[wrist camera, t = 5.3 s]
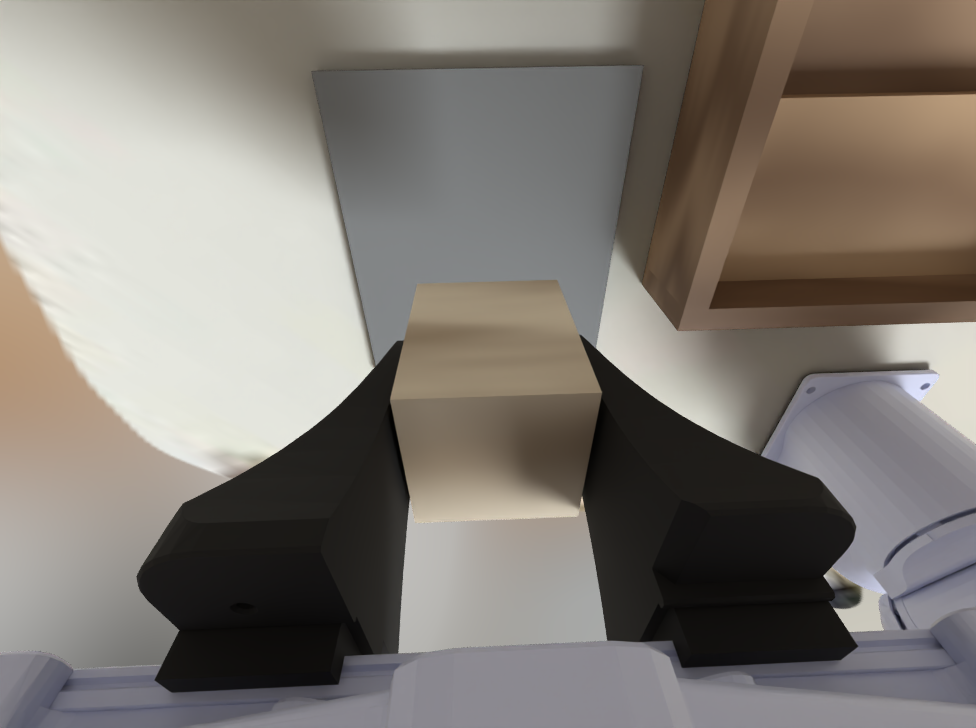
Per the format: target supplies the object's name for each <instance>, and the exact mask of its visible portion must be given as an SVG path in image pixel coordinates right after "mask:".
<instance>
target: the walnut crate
mask: <svg viewBox="0 0 976 728" xmlns="http://www.w3.org/2000/svg"><path fill="white" fill-rule="evenodd" d="M642 285H643V287H644V288H645V289H646V290H647V292H648V293H649V294H650V296H651V297H652V298H653V300H654V301H655V302H656V303H657V305H658V306H659V307H660V309H661V310H662V311H663V312H664V314H665V315H666V316H667V318H668V319H669V320H670V322H671V323H672V324H673V325H674V327H675V328H676V329H677V331H696V330H728V329H760V328H792V327H824V326H856V325H888V324H920V323H953V322H976V0H705V4H704V8H703V13H702V17H701V22H700V26H699V31H698V35H697V40H696V44H695V49H694V53H693V57H692V62H691V66H690V71H689V75H688V80H687V84H686V89H685V93H684V98H683V102H682V107H681V111H680V115H679V120H678V124H677V129H676V133H675V138H674V142H673V147H672V151H671V156H670V160H669V165H668V169H667V173H666V178H665V182H664V187H663V191H662V196H661V200H660V205H659V209H658V214H657V218H656V223H655V227H654V231H653V236H652V240H651V245H650V249H649V254H648V258H647V263H646V267H645V272H644V276H643V281H642Z"/></svg>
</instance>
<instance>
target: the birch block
mask: <svg viewBox="0 0 976 728" xmlns="http://www.w3.org/2000/svg"><path fill="white" fill-rule="evenodd" d="M601 395H602V391H601V389H600V386H599V384H598V381H597V379H596V376H595V374H594V371H593V369H592V366H591V364H590V361H589V359H588V356H587V354H586V351H585V349H584V346H583V344H582V341H581V339H580V336H579V334H578V331H577V329H576V326H575V324H574V321H573V318H572V316H571V313H570V311H569V308H568V306H567V303H566V301H565V298H564V296H563V293H562V291H561V288H560V286H559V283H558V281H557V280H532V281H497V282H461V283H426V284H417V287H416V292H415V296H414V300H413V304H412V309H411V313H410V317H409V321H408V326H407V330H406V334H405V338H404V343H403V347H402V351H401V355H400V360H399V364H398V368H397V372H396V377H395V381H394V385H393V389H392V394H391V398H390V402H391V407H392V412H393V417H394V422H395V427H396V431H397V436H398V441H399V446H400V451H401V456H402V461H403V466H404V470H405V475H406V480H407V485H408V490H409V495H410V500H411V505H412V509H413V514H414V519H415V523H425V522H451V521H475V520H500V519H501V520H502V519H524V518H525V519H527V518H551V517H575V516H578V513H579V508H580V502H581V497H582V492H583V487H584V482H585V477H586V472H587V467H588V462H589V457H590V451H591V446H592V441H593V436H594V431H595V426H596V421H597V416H598V411H599V406H600V401H601Z"/></svg>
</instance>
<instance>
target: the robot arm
mask: <svg viewBox="0 0 976 728" xmlns="http://www.w3.org/2000/svg"><path fill="white" fill-rule="evenodd" d="M579 336H580V339H581V341H582V344H583V346H584V349H585V351H586V354H587V356H588V359H589V361H590V364H591V366H592V369H593V371H594V374H595V376H596V379H597V381H598V384H599V386H600V389H601V391H602V395H601V401H600V406H599V411H598V416H597V421H596V426H595V431H594V436H593V441H592V446H591V451H590V457H589V462H588V467H587V472H586V477H585V482H584V487H583V492H582V497H583V502H584V507H585V512H586V516H587V522H588V526H589V532H590V538H591V542H592V548H593V554H594V559H595V565H596V571H597V577H598V583H599V589H600V595H601V601H602V607H603V614H604V621H605V628H606V635H607V641H597V642H596V641H594V642H575V643H574V642H572V643H551V644H530V645H509V646H489V647H467V648H452V649H445V650H439V651H433V652H421V653H399V654H398V648H399V629H400V611H401V596H402V580H403V567H404V555H405V543H406V531H407V520H408V508H409V500H410V495H409V490H408V485H407V480H406V475H405V470H404V466H403V461H402V456H401V451H400V446H399V441H398V436H397V431H396V427H395V422H394V417H393V412H392V407H391V402H390V398H391V394H392V389H393V385H394V381H395V377H396V372H397V368H398V364H399V360H400V355H401V351H402V347H403V343H404V340H403V341H396V342H395V343H394V345H393V346H392V347H391V348H390V349H389V351H388V352H387V353H386V354H385V356H384V357H383V358H382V359H381V360H380V362H379V363H378V364H377V365H376V366H375V368H374V369H373V370H372V371H371V372H370V373H369V374H368V376H367V377H366V378H365V379H364V380H363V381H362V382H361V383H360V385H359V386H358V387H357V388H356V389H355V390H354V391H353V392H352V393H351V394H350V395H349V396H348V397H347V398H346V399H345V400H344V401H343V402H342V403H341V404H340V405H339V406H338V407H337V408H335V409H334V410H333V411H332V412H331V413H330V414H329V415H327V416H326V417H325V418H324V419H322V420H321V421H320V422H319V423H318V424H316V425H315V426H314V427H313V428H311V429H310V430H309V431H307V432H306V433H304V434H303V435H301V436H300V437H299V438H297V439H296V440H294V441H293V442H292V443H290V444H289V445H287V446H286V447H285V448H283V449H282V450H280V451H279V452H277V453H275V454H274V455H272V456H271V457H269V458H267V459H266V460H264V461H263V462H261V463H259V464H258V465H256V466H254V467H252V468H251V469H249V470H247V471H246V472H244V473H242V474H240V475H238V476H237V477H235V478H233V479H231V480H229V481H227V482H225V483H223V484H221V485H219V486H217V487H215V488H213V489H211V490H209V491H207V492H206V493H203V494H202V495H200V496H198V497H196V498H194V499H191V500H189V501H187V502H185V503H183V504H182V506H181V507H180V508H179V510H178V511H177V513H176V514H175V516H174V517H173V519H172V520H171V522H170V523H169V525H168V526H167V528H166V529H165V531H164V532H163V534H162V536H161V537H160V539H159V540H158V542H157V543H156V545H155V546H154V548H153V549H152V551H151V553H150V554H149V556H148V557H147V559H146V560H145V562H144V563H143V565H142V567H141V569H140V570H139V573H138V575H137V582H138V587H139V589H140V591H141V593H142V594H143V595H144V596H145V598H146V599H147V600H148V601H149V602H150V603H151V604H152V605H153V606H154V607H155V608H156V609H157V610H158V611H159V612H161V613H162V614H163V615H164V616H165V617H166V618H167V619H168V620H169V621H171V623H172V624H174V625H175V626H176V627H177V628H178V629H179V630H180V631H179V632H178V634H177V636H176V638H175V640H174V642H173V645H172V646H171V648H170V650H169V652H168V654H167V656H166V658H165V660H164V662H163V664H162V665H145V666H124V667H103V668H81V669H73V668H72V666H71V665H70V664H69V663H67V662H66V661H65V660H63V659H62V658H60V657H58V656H56V655H53V654H50V653H46V652H41V651H15V652H0V728H976V444H975V443H974V442H972V441H971V440H970V439H968V438H967V437H966V436H964V435H963V434H962V433H960V432H959V431H958V430H956V429H955V428H954V427H952V426H951V425H950V424H948V423H947V422H946V421H944V420H943V419H942V418H940V417H939V416H938V415H937V414H935V413H934V412H933V411H931V410H930V409H929V408H927V407H926V406H925V405H923V404H922V403H921V402H920V401H921V400H922V399H923V397H924V396H925V395H926V394H927V392H928V391H929V390H930V389H931V387H932V386H933V385H934V384H935V382H936V381H937V380H938V378H939V374H938V373H936V372H935V371H933V370H908V371H878V372H848V373H819V374H810V375H808V376H806V377H805V378H804V379H803V381H802V383H801V384H800V386H799V388H798V390H797V392H796V393H795V395H794V397H793V399H792V400H791V402H790V404H789V406H788V408H787V409H786V411H785V413H784V415H783V417H782V418H781V420H780V422H779V424H778V425H777V427H776V429H775V431H774V433H773V434H772V436H771V438H770V440H769V442H768V443H767V445H766V447H765V449H764V451H763V452H762V454H761V456H760V455H758V454H756V453H754V452H751V451H749V450H747V449H745V448H743V447H740V446H738V445H736V444H734V443H732V442H730V441H728V440H726V439H724V438H721V437H719V436H717V435H716V434H714V433H712V432H710V431H708V430H706V429H704V428H703V427H701V426H699V425H697V424H695V423H693V422H692V421H690V420H688V419H687V418H685V417H683V416H682V415H680V414H678V413H677V412H675V411H674V410H672V409H671V408H669V407H668V406H666V405H664V404H663V403H661V402H660V401H658V400H657V399H656V398H654V397H653V396H651V395H650V394H649V393H647V392H646V391H645V390H643V389H642V388H641V387H640V386H638V385H637V384H636V383H634V382H633V381H632V380H631V379H629V378H628V377H627V376H626V375H625V374H623V373H622V372H621V371H620V370H619V369H618V368H617V367H615V366H614V365H613V364H612V363H611V362H610V361H609V360H608V359H607V358H605V357H604V356H603V355H602V354H601V353H600V352H599V351H598V350H597V349H596V348H595V347H594V346H593V345H592V344H591V343H590V342H589V341H587V340H586V339H585V338H584V337H583V336H582V335H579ZM831 567H833V568H834V569H835V570H836V571H837V572H839V573H840V574H841V575H843V576H844V577H846V578H847V579H849V580H850V581H852V582H854V583H855V584H857V585H859V586H861V587H863V588H866V589H869V590H871V591H875V592H878V593H882V594H884V595H882V596H881V597H880V599H879V610H880V614H881V622H882V626H883V628H884V631H867V632H849V631H848V630H847V628H846V627H845V626H844V624H843V622H842V621H841V619H840V618H839V617H838V615H837V613H836V612H835V610H834V609H833V607H832V606H831V604H830V603H829V601H832V600H833V599H834V598H835V594H834V591H833V590H832V588H831V587H830V585H829V584H828V582H827V581H826V579H825V578H824V574H825V573H826V572H827V571H828V570H829V569H830V568H831Z"/></svg>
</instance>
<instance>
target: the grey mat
mask: <svg viewBox="0 0 976 728" xmlns="http://www.w3.org/2000/svg"><path fill="white" fill-rule="evenodd" d="M643 67H644V65H622V66H567V67H512V68H457V69H402V70H346V71H311V72H312V76H313V81H314V85H315V90H316V95H317V99H318V104H319V108H320V113H321V117H322V122H323V127H324V131H325V136H326V140H327V145H328V150H329V154H330V159H331V163H332V168H333V172H334V177H335V182H336V186H337V191H338V195H339V200H340V204H341V209H342V214H343V218H344V223H345V227H346V232H347V236H348V241H349V246H350V250H351V255H352V259H353V264H354V269H355V273H356V278H357V282H358V287H359V291H360V296H361V301H362V305H363V310H364V314H365V319H366V323H367V328H368V333H369V337H370V342H371V346H372V351H373V355H374V360H375V365H377V364H378V363H379V362H380V360H381V359H382V358H383V357H384V356H385V354H386V353H387V352H388V351H389V349H390V348H391V347H392V346H393V345H394V343H395V342H396V341H403V340H404V338H405V334H406V330H407V326H408V321H409V317H410V313H411V309H412V304H413V300H414V296H415V292H416V287H417V284H426V283H461V282H497V281H532V280H557V281H558V283H559V286H560V288H561V291H562V293H563V296H564V298H565V301H566V303H567V306H568V308H569V311H570V313H571V316H572V318H573V321H574V324H575V326H576V329H577V331H578V334H579V335H582V336H583V337H584V338H585V339H586V340H587V341H589V342H590V343H591V344H592V345H593V346H594V347H595V348H596V344H597V338H598V332H599V326H600V320H601V314H602V309H603V303H604V297H605V291H606V285H607V279H608V273H609V267H610V261H611V255H612V250H613V244H614V238H615V232H616V226H617V220H618V214H619V208H620V202H621V196H622V191H623V185H624V179H625V173H626V167H627V161H628V155H629V149H630V143H631V137H632V132H633V126H634V120H635V114H636V108H637V102H638V96H639V90H640V84H641V78H642V73H643Z"/></svg>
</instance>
